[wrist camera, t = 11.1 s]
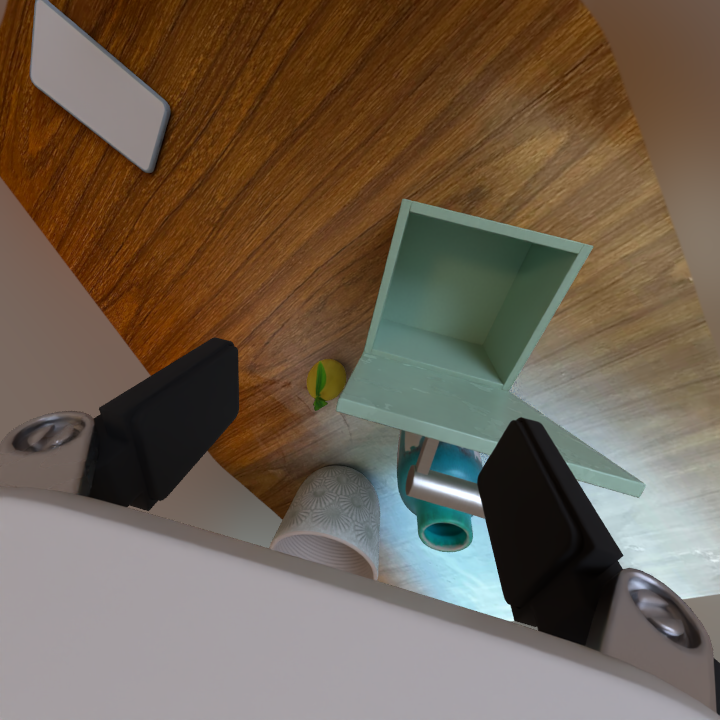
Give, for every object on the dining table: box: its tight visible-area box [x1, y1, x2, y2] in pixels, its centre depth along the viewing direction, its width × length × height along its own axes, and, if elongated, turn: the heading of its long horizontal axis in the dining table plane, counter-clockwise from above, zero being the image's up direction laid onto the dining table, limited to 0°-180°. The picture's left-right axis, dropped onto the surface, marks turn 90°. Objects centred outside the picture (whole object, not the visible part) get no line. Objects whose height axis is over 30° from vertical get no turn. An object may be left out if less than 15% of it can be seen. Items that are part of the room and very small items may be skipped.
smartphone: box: [30, 0, 171, 173], centre depth 32 cm, size 8×1×15 cm
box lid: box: [336, 352, 646, 518], centre depth 22 cm, size 15×16×6 cm
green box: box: [364, 199, 593, 392], centre depth 31 cm, size 15×16×11 cm
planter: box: [269, 465, 380, 581], centre depth 49 cm, size 17×17×15 cm
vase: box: [397, 430, 483, 552], centre depth 37 cm, size 11×11×19 cm
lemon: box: [307, 359, 346, 411], centre depth 39 cm, size 7×6×10 cm
